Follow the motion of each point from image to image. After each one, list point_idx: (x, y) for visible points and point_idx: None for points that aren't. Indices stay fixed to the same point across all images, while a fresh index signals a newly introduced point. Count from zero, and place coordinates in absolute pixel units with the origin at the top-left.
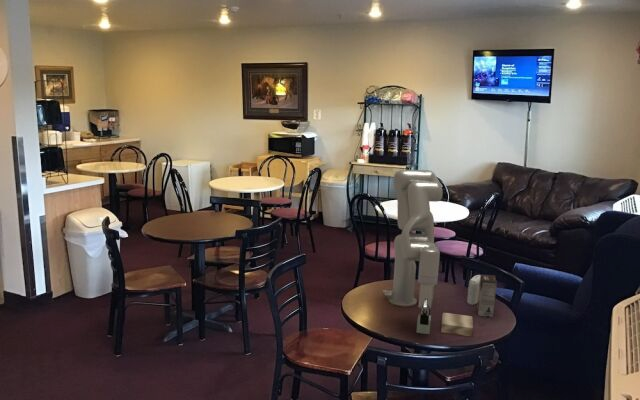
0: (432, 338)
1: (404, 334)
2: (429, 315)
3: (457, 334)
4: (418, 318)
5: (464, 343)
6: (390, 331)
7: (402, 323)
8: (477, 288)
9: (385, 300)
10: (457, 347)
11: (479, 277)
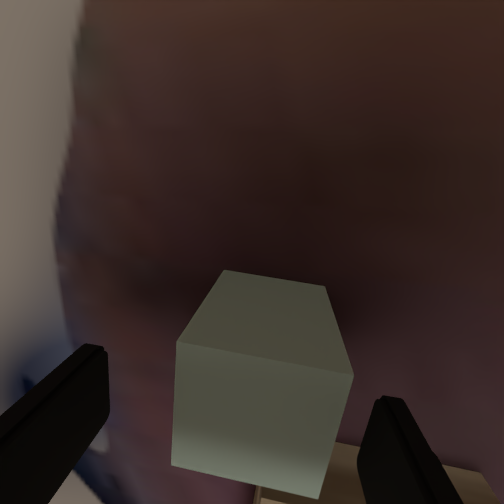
0: (157, 363)
1: (159, 169)
2: (310, 483)
3: (253, 500)
4: (179, 352)
5: (150, 500)
6: (183, 25)
7: (398, 155)
8: None
9: None
10: (91, 461)
11: None
